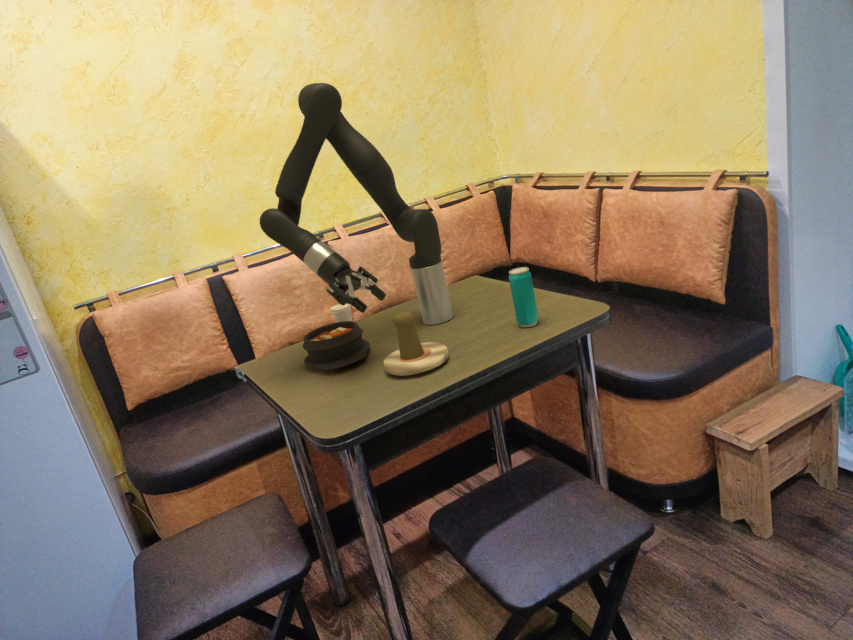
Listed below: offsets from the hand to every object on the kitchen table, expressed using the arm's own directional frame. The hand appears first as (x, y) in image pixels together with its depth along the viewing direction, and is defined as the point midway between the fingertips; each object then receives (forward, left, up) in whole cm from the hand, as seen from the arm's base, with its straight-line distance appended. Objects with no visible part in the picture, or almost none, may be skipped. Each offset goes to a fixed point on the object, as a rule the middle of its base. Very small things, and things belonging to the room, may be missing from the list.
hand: (375, 303), depth 147 cm
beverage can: (-17, +34, -17) cm, 41 cm away
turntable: (+2, +8, -16) cm, 18 cm away
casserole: (-9, -18, -17) cm, 26 cm away
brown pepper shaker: (+2, +7, -14) cm, 16 cm away
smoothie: (-27, -22, -17) cm, 39 cm away
